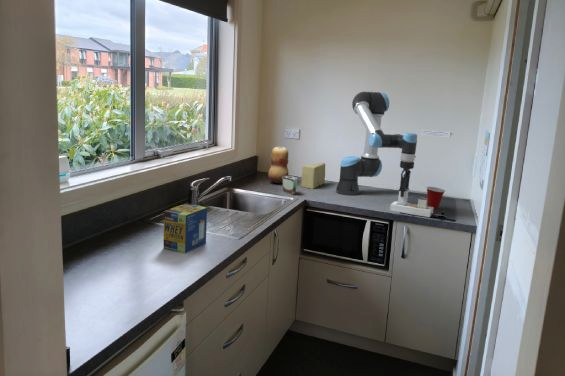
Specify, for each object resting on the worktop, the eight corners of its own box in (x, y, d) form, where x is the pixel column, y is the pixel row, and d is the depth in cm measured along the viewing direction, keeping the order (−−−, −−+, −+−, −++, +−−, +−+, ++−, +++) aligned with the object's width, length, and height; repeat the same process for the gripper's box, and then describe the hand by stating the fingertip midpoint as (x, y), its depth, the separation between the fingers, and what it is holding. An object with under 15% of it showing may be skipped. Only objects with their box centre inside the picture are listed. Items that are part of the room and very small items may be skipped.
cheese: (317, 182, 332) (319, 161, 328) (329, 184, 326) (331, 163, 323) (300, 186, 314) (301, 164, 311) (312, 189, 308) (314, 167, 305)
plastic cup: (444, 211, 271) (446, 191, 268) (424, 209, 273) (427, 189, 270) (441, 206, 281) (444, 187, 279) (423, 205, 283) (425, 185, 281)
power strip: (389, 210, 266) (390, 203, 265) (394, 206, 275) (395, 199, 274) (444, 219, 253) (445, 212, 252) (447, 215, 261) (448, 208, 260)
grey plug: (397, 204, 266) (399, 189, 264) (398, 203, 270) (400, 187, 268) (405, 205, 265) (407, 190, 263) (406, 204, 268) (408, 189, 266)
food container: (301, 194, 291) (302, 178, 289) (293, 195, 288) (294, 179, 286) (289, 190, 301) (290, 175, 299) (281, 191, 297) (282, 175, 295)
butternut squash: (271, 185, 312) (273, 148, 306) (265, 181, 324) (267, 145, 319) (291, 185, 317) (293, 148, 312) (283, 181, 329) (286, 145, 324)
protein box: (162, 248, 185) (163, 210, 182) (185, 238, 199) (186, 202, 196) (184, 254, 181) (185, 215, 178) (206, 242, 195) (207, 206, 191)
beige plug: (416, 213, 262) (418, 198, 260) (417, 212, 265) (419, 196, 264) (424, 215, 260) (426, 199, 258) (425, 213, 264) (427, 198, 262)
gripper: (410, 163, 253) (405, 205, 258) (417, 160, 268) (412, 199, 273) (396, 161, 256) (392, 203, 261) (404, 158, 271) (399, 197, 276)
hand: (402, 201), depth 267 cm, fingers open, 4 cm apart
